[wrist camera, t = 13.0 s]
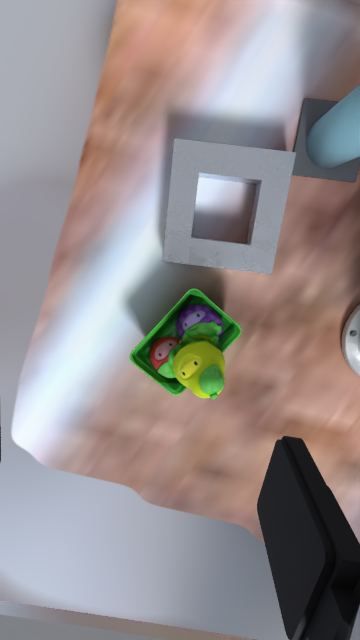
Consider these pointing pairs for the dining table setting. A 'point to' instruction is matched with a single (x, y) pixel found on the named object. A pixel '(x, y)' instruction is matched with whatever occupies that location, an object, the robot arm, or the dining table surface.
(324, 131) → the blue cylinder
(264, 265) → the frame
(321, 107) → the mat
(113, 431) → the dining table surface
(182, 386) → the fruit basket
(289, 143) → the dining table surface
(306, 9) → the dining table surface
